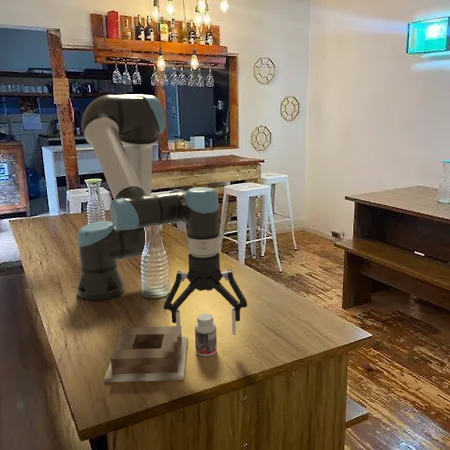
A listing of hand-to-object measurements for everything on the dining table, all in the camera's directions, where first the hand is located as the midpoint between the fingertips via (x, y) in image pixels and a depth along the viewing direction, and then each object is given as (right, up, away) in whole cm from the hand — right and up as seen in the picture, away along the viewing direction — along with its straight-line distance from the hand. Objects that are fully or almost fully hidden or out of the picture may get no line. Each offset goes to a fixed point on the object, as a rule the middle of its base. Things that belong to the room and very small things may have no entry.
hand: (206, 333), depth 113 cm
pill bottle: (0, -5, +2) cm, 5 cm away
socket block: (-14, -6, -2) cm, 15 cm away
